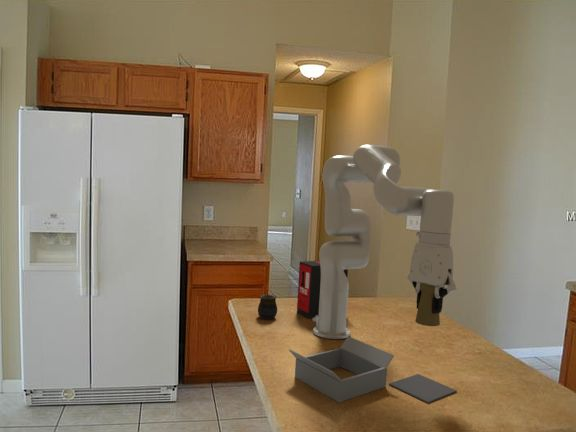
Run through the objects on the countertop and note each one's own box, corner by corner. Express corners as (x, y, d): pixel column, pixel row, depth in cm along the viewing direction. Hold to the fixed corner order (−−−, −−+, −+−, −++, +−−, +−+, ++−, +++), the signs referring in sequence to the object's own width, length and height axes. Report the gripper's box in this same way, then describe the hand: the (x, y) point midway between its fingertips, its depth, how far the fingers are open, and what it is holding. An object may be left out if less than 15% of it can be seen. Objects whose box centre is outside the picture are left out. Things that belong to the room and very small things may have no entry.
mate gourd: (275, 315, 183) (277, 289, 182) (278, 321, 176) (279, 294, 175) (256, 314, 182) (258, 288, 181) (258, 321, 175) (259, 293, 174)
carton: (287, 379, 126) (288, 349, 125) (346, 363, 139) (348, 336, 139) (330, 405, 113) (332, 372, 112) (392, 384, 126) (394, 354, 125)
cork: (411, 318, 126) (415, 277, 125) (434, 319, 127) (437, 277, 126) (420, 325, 120) (423, 282, 119) (443, 326, 121) (447, 283, 120)
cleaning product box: (309, 319, 181) (312, 265, 179) (296, 312, 188) (299, 261, 187) (344, 314, 189) (348, 264, 187) (331, 308, 197) (334, 259, 195)
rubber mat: (389, 384, 126) (389, 383, 126) (417, 375, 133) (418, 373, 133) (427, 403, 116) (428, 401, 116) (456, 392, 124) (456, 390, 124)
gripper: (398, 235, 126) (393, 304, 127) (455, 244, 113) (448, 321, 114) (416, 234, 131) (411, 301, 132) (473, 243, 117) (466, 317, 119)
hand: (428, 309), depth 123 cm, fingers closed on cork, 3 cm apart
